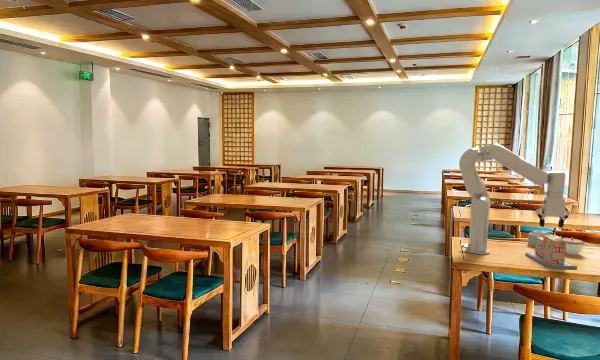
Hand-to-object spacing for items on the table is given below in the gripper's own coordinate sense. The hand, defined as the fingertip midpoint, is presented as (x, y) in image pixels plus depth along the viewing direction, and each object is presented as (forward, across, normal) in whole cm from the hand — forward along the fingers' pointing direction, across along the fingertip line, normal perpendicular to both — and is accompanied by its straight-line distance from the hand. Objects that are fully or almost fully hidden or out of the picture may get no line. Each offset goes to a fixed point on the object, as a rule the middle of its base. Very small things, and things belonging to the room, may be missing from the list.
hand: (551, 226), depth 219 cm
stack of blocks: (+17, +1, 0) cm, 17 cm away
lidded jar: (+19, +23, +18) cm, 35 cm away
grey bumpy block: (+19, +14, +36) cm, 44 cm away
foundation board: (+19, +1, 0) cm, 19 cm away
